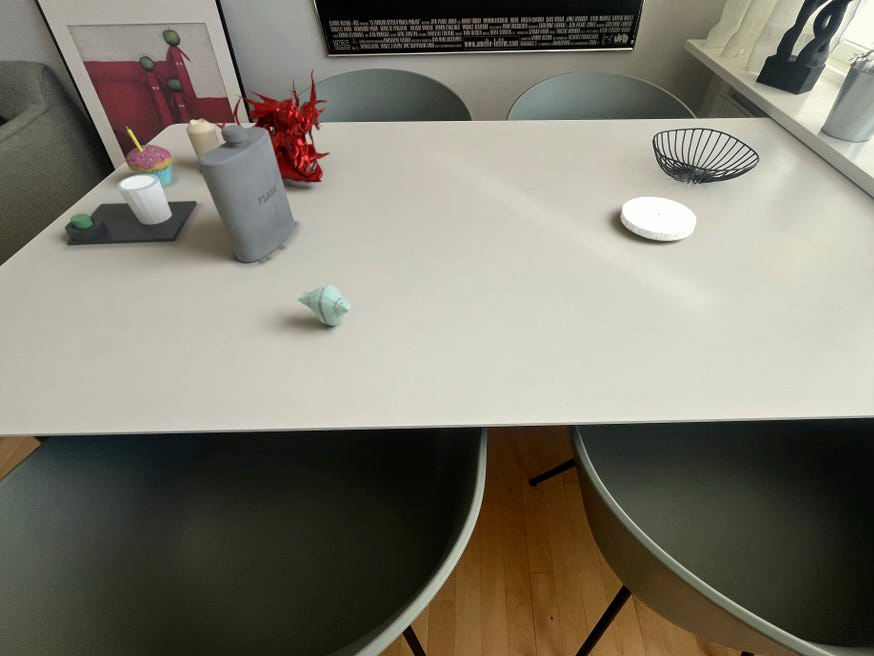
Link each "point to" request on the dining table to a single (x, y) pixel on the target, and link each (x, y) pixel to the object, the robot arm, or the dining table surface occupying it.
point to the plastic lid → (658, 218)
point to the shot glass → (145, 198)
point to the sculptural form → (289, 133)
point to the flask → (248, 192)
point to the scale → (129, 225)
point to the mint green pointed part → (326, 304)
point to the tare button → (81, 221)
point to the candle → (202, 136)
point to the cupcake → (150, 160)
